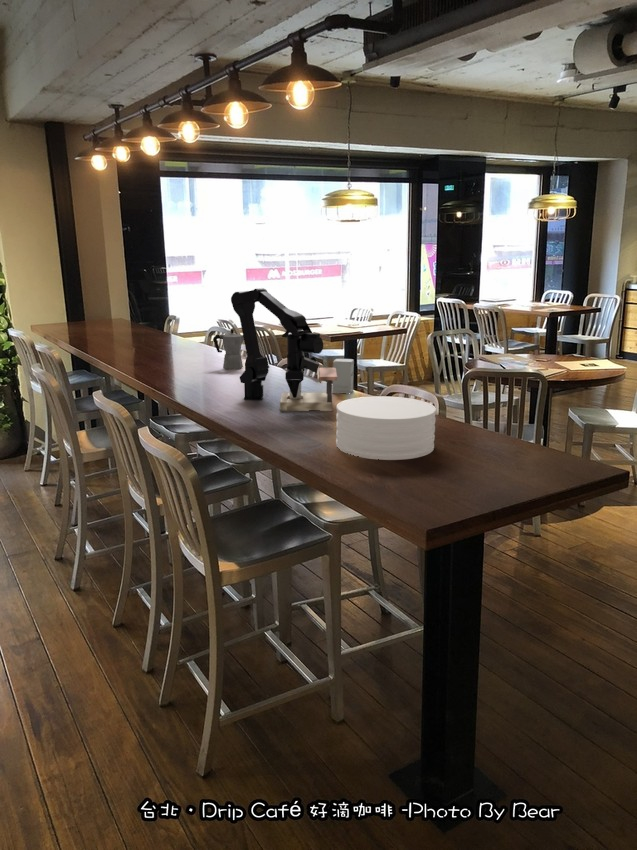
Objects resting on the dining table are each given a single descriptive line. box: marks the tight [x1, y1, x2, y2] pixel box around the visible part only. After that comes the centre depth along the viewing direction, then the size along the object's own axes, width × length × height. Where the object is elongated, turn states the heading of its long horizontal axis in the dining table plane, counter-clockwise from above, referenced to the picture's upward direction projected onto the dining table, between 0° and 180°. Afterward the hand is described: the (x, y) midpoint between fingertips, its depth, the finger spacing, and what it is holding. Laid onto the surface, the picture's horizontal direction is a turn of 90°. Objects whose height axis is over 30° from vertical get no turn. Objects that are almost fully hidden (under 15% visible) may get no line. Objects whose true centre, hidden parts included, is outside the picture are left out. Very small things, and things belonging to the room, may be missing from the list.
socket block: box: [279, 367, 337, 412], centre depth 241 cm, size 20×18×12 cm
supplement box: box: [332, 358, 355, 395], centre depth 264 cm, size 7×7×13 cm
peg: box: [289, 381, 302, 399], centre depth 242 cm, size 4×4×9 cm
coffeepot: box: [212, 328, 244, 370], centre depth 314 cm, size 15×9×18 cm, turn 103°
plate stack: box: [335, 395, 437, 461], centre depth 194 cm, size 28×28×12 cm
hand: (295, 394), depth 242 cm, fingers open, 9 cm apart
